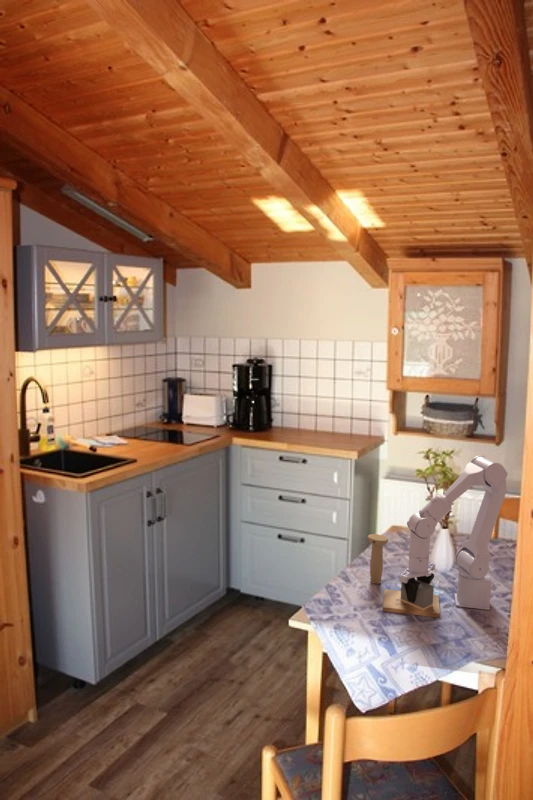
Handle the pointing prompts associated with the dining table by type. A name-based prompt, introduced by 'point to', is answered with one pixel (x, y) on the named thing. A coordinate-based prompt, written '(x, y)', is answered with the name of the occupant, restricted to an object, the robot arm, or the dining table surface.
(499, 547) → the dining table surface
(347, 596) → the dining table surface
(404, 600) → the block
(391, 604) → the oak board
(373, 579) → the handle
